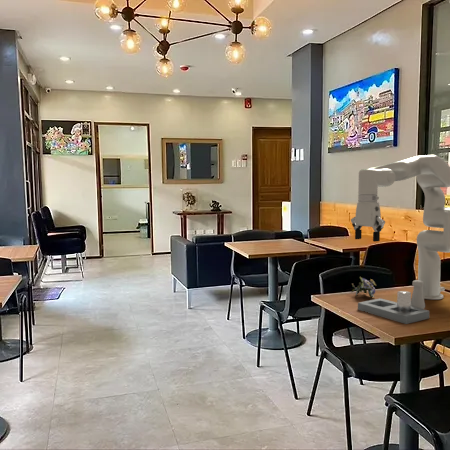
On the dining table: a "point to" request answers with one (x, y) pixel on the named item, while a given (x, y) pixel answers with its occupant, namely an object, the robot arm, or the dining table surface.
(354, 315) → the dining table surface
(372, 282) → the toy creature figurine
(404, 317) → the hole plate
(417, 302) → the salt shaker
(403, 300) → the steel pin
